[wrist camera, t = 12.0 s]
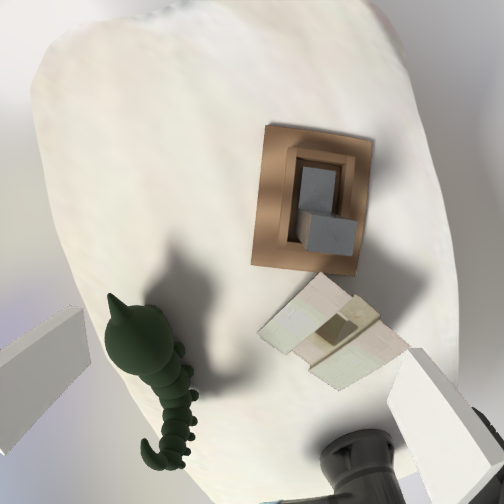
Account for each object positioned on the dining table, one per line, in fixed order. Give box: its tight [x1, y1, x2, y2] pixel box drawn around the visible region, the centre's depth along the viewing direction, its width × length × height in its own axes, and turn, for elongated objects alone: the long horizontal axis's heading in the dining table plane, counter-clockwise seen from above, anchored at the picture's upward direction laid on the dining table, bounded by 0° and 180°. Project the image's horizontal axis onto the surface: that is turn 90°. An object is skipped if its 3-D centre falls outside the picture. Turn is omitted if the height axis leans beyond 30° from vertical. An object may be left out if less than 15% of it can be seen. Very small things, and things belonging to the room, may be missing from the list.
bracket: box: [294, 167, 357, 256], centre depth 30 cm, size 8×4×13 cm, turn 174°
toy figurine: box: [105, 293, 199, 471], centre depth 34 cm, size 9×19×25 cm
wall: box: [257, 272, 411, 391], centre depth 37 cm, size 16×9×15 cm
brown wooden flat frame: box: [251, 125, 372, 276], centre depth 35 cm, size 18×14×4 cm
